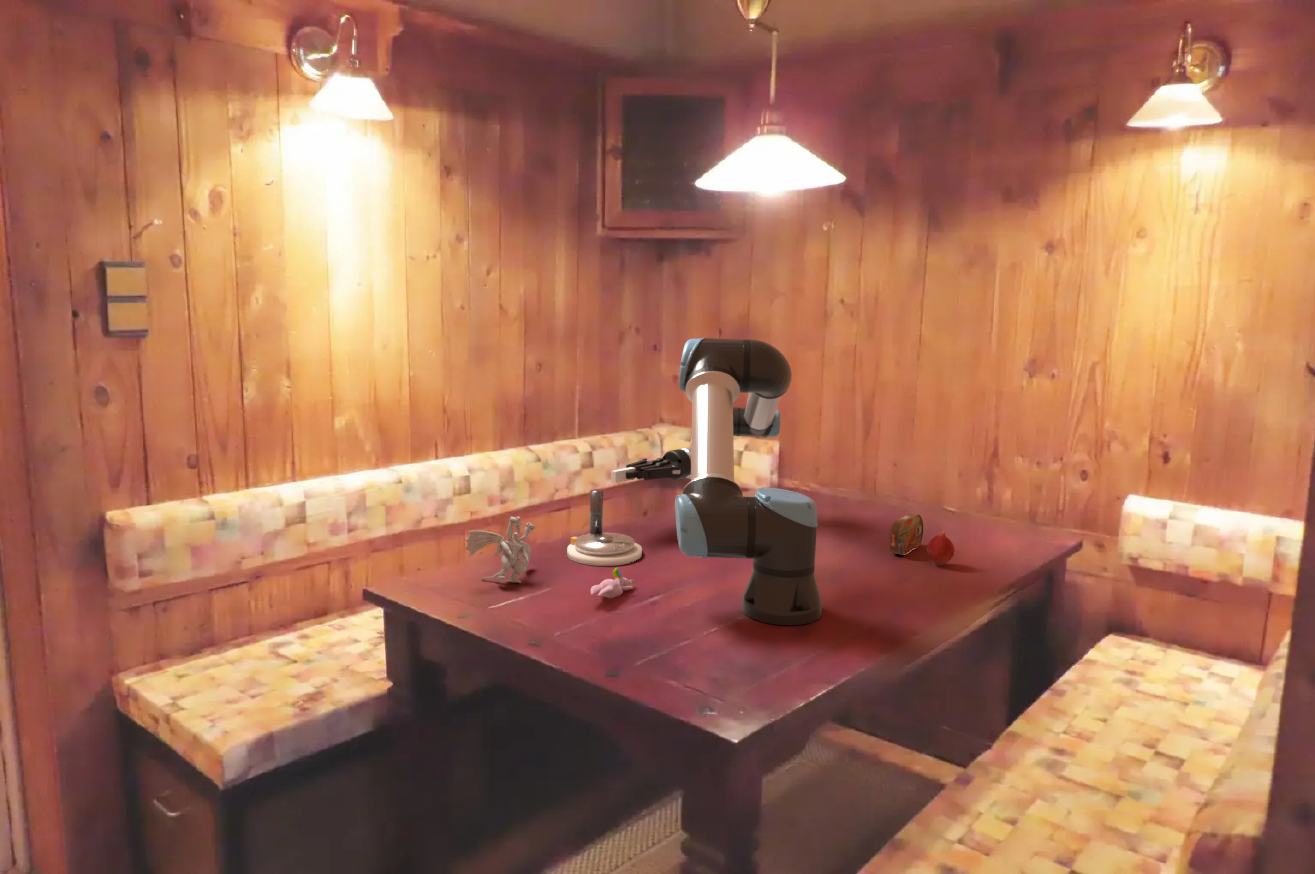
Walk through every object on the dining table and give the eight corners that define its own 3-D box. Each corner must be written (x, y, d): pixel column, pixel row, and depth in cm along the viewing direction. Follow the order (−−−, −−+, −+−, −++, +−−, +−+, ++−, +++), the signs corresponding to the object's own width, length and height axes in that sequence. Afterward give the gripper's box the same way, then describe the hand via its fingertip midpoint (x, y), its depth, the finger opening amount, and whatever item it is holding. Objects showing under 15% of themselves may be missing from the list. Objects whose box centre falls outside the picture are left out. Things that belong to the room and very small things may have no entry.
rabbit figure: (613, 590, 189) (579, 601, 175) (616, 561, 189) (582, 570, 175) (641, 595, 187) (608, 606, 173) (643, 566, 187) (611, 575, 173)
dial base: (620, 570, 198) (620, 557, 197) (553, 558, 205) (553, 546, 204) (654, 550, 213) (654, 537, 212) (590, 540, 220) (590, 528, 219)
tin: (898, 559, 210) (901, 524, 209) (885, 557, 212) (888, 521, 210) (923, 545, 222) (925, 512, 220) (910, 543, 224) (913, 509, 222)
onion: (923, 567, 205) (926, 532, 203) (928, 560, 210) (931, 526, 208) (950, 571, 202) (953, 536, 201) (955, 564, 207) (957, 530, 206)
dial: (643, 552, 205) (644, 501, 203) (585, 558, 200) (586, 505, 198) (621, 535, 218) (621, 487, 216) (566, 540, 213) (566, 491, 211)
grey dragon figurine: (453, 574, 185) (463, 507, 189) (519, 589, 198) (527, 526, 202) (484, 573, 178) (494, 504, 182) (550, 588, 191) (558, 523, 195)
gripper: (700, 482, 229) (632, 497, 212) (663, 473, 238) (595, 487, 221) (701, 453, 227) (632, 465, 211) (664, 445, 236) (595, 456, 220)
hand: (613, 476), depth 216 cm, fingers closed
